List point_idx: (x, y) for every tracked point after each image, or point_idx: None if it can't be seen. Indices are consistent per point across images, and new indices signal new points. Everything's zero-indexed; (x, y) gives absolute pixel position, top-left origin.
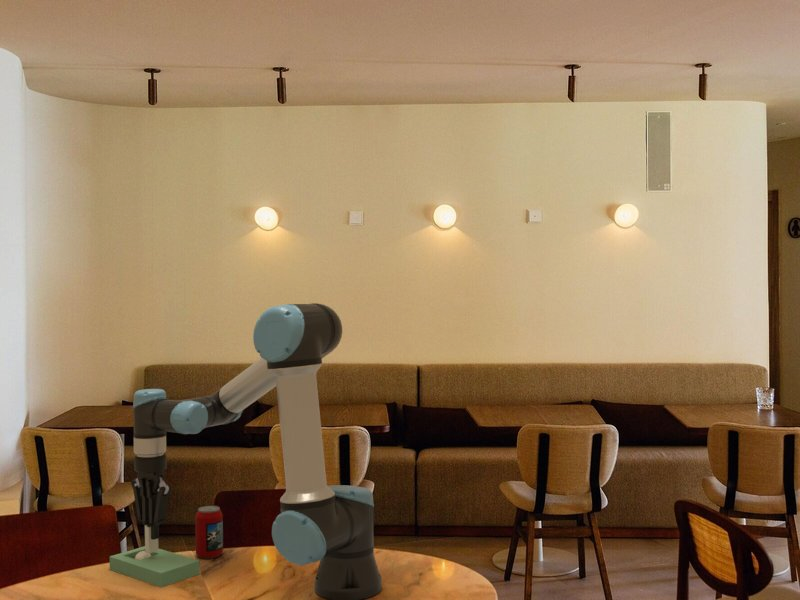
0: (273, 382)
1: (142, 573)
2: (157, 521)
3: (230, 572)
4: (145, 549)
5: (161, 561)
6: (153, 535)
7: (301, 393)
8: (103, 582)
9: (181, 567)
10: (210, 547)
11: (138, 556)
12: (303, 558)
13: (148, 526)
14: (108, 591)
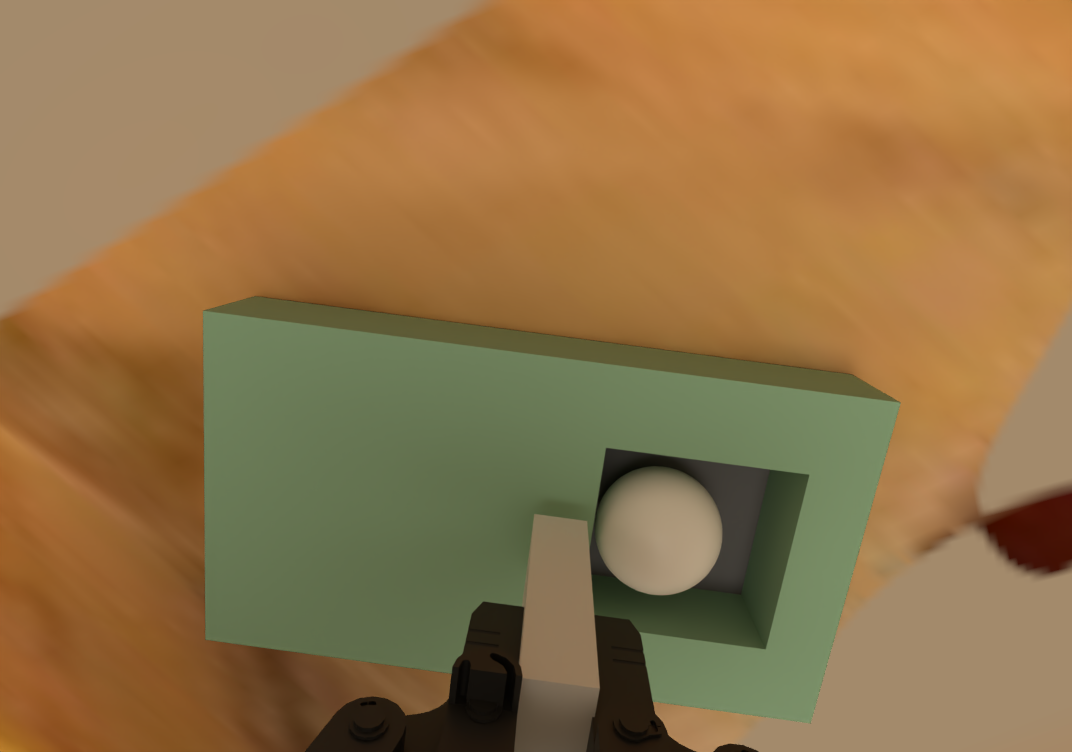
0: None
1: (452, 333)
2: (317, 740)
3: (126, 680)
4: (583, 533)
5: (421, 506)
6: (480, 629)
7: None
8: (688, 160)
9: (209, 491)
10: None
11: (659, 499)
12: None
13: (476, 654)
14: (505, 41)
